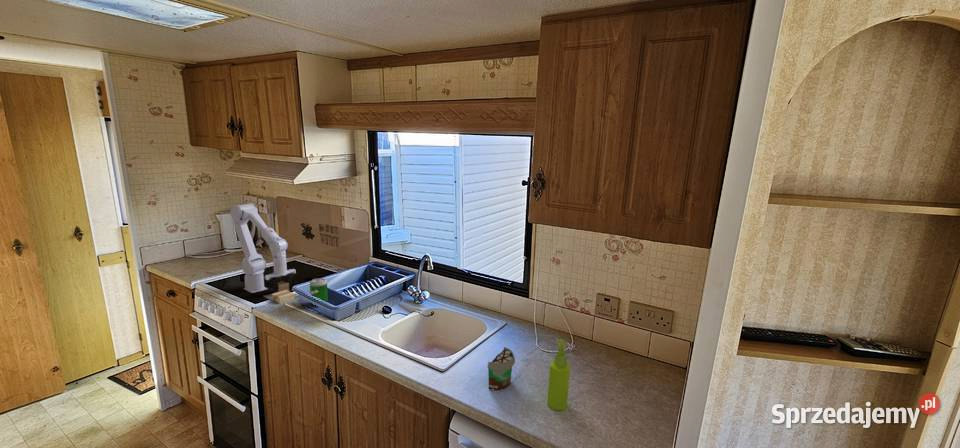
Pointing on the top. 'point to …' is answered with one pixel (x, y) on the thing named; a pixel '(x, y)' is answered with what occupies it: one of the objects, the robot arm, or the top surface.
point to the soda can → (319, 288)
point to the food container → (501, 370)
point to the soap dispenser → (559, 379)
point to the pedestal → (283, 296)
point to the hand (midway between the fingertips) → (281, 290)
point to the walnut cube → (282, 286)
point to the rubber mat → (275, 301)
